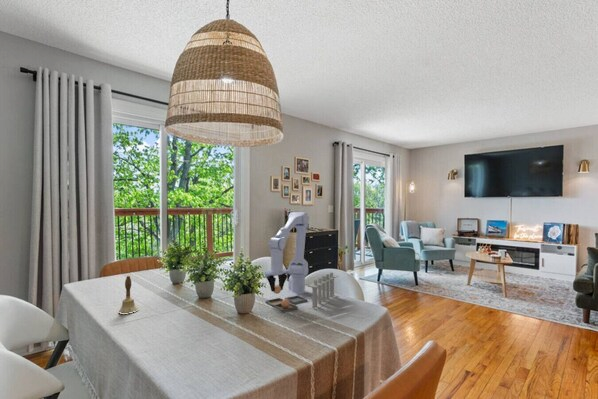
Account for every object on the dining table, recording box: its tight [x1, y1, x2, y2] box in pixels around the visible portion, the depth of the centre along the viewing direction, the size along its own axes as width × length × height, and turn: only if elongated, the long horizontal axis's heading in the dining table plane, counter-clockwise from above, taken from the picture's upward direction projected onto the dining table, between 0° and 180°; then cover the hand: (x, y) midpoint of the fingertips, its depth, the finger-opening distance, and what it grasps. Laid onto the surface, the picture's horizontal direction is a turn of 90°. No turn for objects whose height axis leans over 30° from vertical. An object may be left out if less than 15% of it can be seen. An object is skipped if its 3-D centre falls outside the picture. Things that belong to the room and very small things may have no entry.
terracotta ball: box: [273, 284, 282, 295], centre depth 150 cm, size 4×4×4 cm
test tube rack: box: [307, 271, 339, 311], centre depth 153 cm, size 25×4×13 cm, turn 149°
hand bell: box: [118, 275, 139, 313], centre depth 141 cm, size 8×8×16 cm
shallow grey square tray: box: [284, 294, 308, 305], centre depth 155 cm, size 8×8×2 cm
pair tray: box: [265, 297, 299, 313], centre depth 147 cm, size 16×8×2 cm, turn 35°
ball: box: [281, 298, 290, 308], centre depth 144 cm, size 4×4×4 cm
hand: (276, 290), depth 150 cm, fingers closed on terracotta ball, 4 cm apart
